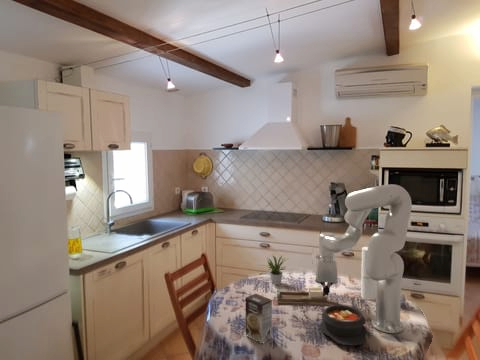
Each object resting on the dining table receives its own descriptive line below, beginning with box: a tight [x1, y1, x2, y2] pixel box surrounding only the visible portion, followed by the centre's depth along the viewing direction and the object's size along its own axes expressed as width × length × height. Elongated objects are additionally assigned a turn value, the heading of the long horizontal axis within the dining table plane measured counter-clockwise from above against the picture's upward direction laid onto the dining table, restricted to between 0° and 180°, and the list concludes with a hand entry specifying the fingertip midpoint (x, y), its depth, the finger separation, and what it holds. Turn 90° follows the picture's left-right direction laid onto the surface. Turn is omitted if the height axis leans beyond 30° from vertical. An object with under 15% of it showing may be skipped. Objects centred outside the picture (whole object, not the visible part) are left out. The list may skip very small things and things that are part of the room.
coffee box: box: [245, 293, 273, 344], centre depth 140 cm, size 9×6×16 cm
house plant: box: [266, 254, 288, 286], centre depth 195 cm, size 14×14×16 cm
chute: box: [276, 288, 329, 307], centre depth 174 cm, size 12×24×4 cm, turn 85°
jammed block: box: [308, 286, 323, 299], centre depth 173 cm, size 6×6×4 cm
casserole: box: [319, 304, 368, 346], centre depth 142 cm, size 25×19×8 cm
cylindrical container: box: [360, 246, 377, 301], centre depth 175 cm, size 7×7×25 cm
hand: (326, 294), depth 173 cm, fingers closed
